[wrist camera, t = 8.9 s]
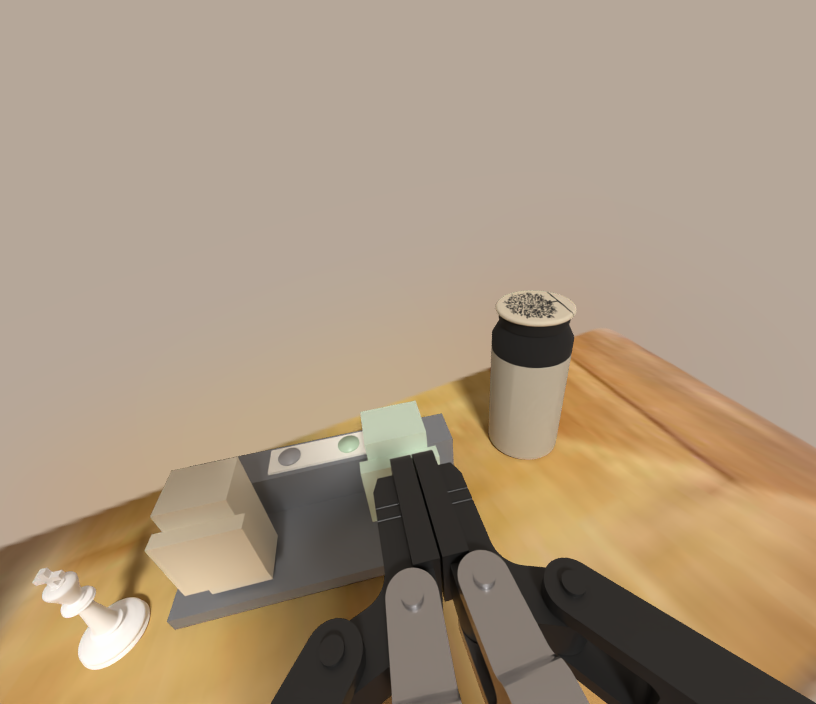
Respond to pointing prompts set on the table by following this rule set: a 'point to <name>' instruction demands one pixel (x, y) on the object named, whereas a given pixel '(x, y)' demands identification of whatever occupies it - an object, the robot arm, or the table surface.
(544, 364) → the travel mug
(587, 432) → the table surface
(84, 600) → the chess piece
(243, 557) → the sand key
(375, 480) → the sage key
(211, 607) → the console
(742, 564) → the table surface
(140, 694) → the table surface
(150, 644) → the table surface
